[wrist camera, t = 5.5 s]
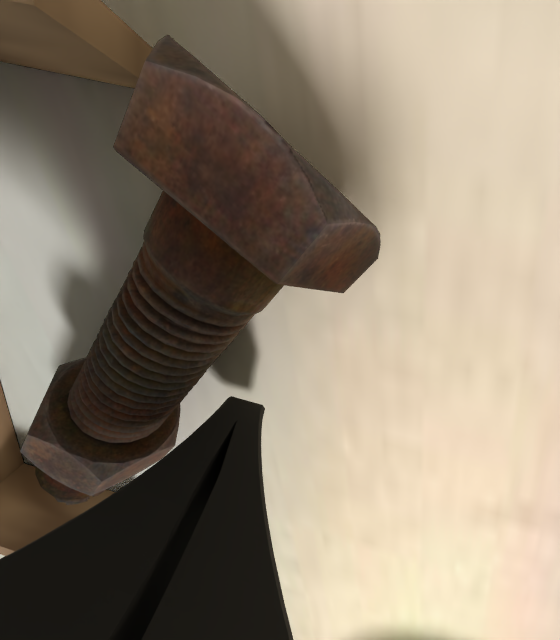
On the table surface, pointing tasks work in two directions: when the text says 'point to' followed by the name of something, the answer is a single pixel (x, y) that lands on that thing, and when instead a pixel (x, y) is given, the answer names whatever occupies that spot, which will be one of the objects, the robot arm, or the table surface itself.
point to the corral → (86, 62)
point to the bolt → (190, 271)
